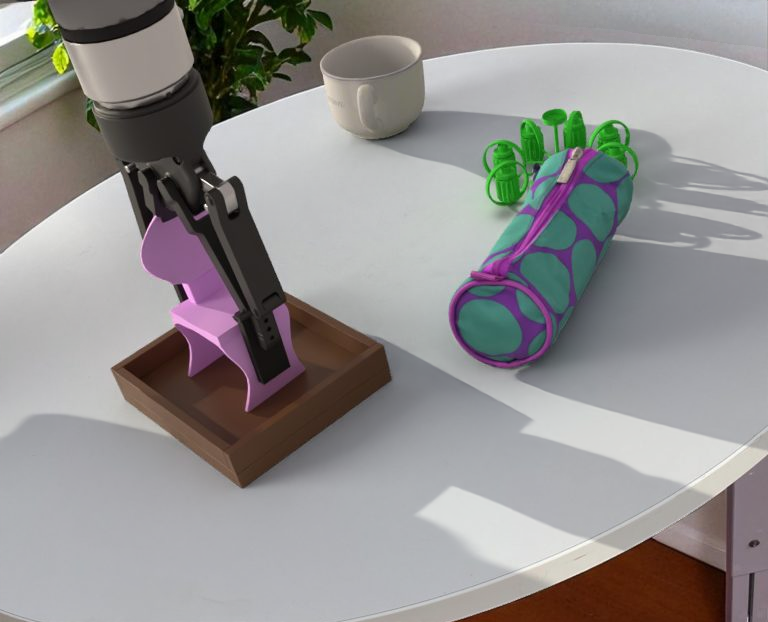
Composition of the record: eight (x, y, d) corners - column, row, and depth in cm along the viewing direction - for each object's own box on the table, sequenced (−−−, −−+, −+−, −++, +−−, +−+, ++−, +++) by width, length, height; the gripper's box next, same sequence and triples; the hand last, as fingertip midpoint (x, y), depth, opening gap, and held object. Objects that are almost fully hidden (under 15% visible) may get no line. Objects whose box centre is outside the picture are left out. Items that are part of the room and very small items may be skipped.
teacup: (352, 104, 122) (336, 34, 117) (443, 98, 119) (432, 26, 113) (315, 168, 114) (296, 96, 108) (412, 164, 110) (398, 89, 105)
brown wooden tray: (125, 399, 92) (109, 368, 89) (265, 307, 97) (254, 275, 95) (242, 489, 81) (228, 456, 79) (392, 379, 87) (384, 345, 84)
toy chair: (242, 422, 84) (179, 260, 74) (178, 382, 89) (112, 226, 79) (319, 365, 87) (270, 202, 77) (253, 330, 93) (199, 173, 82)
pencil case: (540, 227, 98) (530, 128, 91) (636, 235, 94) (633, 133, 87) (452, 371, 86) (433, 271, 79) (557, 387, 82) (546, 283, 75)
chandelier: (672, 187, 98) (672, 116, 93) (525, 246, 96) (517, 176, 91) (590, 127, 108) (586, 60, 103) (457, 179, 106) (446, 113, 101)
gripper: (281, 90, 65) (359, 377, 81) (110, 31, 78) (206, 288, 94) (183, 147, 63) (284, 431, 79) (22, 75, 76) (137, 332, 92)
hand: (241, 353), depth 86 cm, fingers closed on toy chair, 8 cm apart
